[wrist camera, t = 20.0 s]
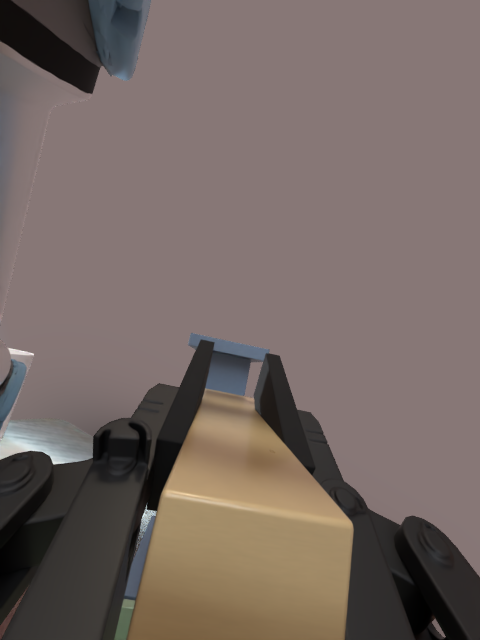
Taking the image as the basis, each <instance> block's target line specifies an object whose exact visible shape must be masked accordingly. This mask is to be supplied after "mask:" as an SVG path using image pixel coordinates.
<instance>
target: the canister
mask: <svg viewBox="0 0 480 640" xmlns="http://www.w3.org/2000/svg"><path fill="white" fill-rule="evenodd" d="M8 350H9V352H10V355H11V359H15V360H16V361H19V362H22V363H24V364H25V365H26V367H27V371H26V375H27V372H28V371H29V368H30V365H31V363H32V360H33V358H34V354H33V353H30V352H26V351H20V350H16V349H11V348H8ZM26 375H25V378H26ZM25 378H24V381H25ZM24 381H23V384H24ZM23 384H22V386H23ZM22 386H21V389H22ZM21 389H20V391H21ZM20 391H19V393H18V396H17V398H16V400H15V402H14V404H13V407H12V409H11V411H10V413H9V414H8V416H7V418H6V420H5V421H4V422H3V425H2V428H1V430H0V441H1V439H2V438H3V436H4V433H5V431H6V428H7V426H8V423H9V420H10V418H11V415H12V412H13V410H14V407H15V405H16V402H17V399H18V397H19V394H20Z"/></svg>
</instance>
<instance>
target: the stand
mask: <svg viewBox="0 0 480 640" xmlns="http://www.w3.org/2000/svg"><path fill="white" fill-rule="evenodd" d="M201 339H202V340H207V341H212V342H215V344H214V349H213V354H212V358H211V363H210V368H209V373H208V378H207V383H206V387H205V388H206V389H211V390H216V391H221V392H226V393H231V394H236V395H241V396H244V394H245V389H246V383H247V379H248V373H249V368H250V363H251V362H263V361H264V358H265V354H266V353H269V350H268V349H263V348H259V347H254V346H249V345H245V344H240V343H235V342H231V341H226V340H221V339H217V338H212V337H207V336H203V335H198V334H193V333H191V335H190V339H189V343H188V345H189V346H191V347H192V348H194V349H195V350H196V349H197V347H198V344H199V342H200V340H201ZM155 517H156V516H152V517H151V520H150V522H149V524H148V527H147V529H146V531H145V534H144V536H143V538H142V541H141V543H140V545H139V548H138V550H137V552H136V555H135V557H134V559H133V562H132V566H131V570H130V574H129V578H128V583H127V587H126V591H125V596H124V599H128V600H136V596H137V592H138V588H139V583H140V579H141V575H142V571H143V567H144V563H145V558H146V554H147V550H148V546H149V542H150V538H151V533H152V529H153V525H154V521H155Z"/></svg>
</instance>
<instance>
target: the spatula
mask: <svg viewBox="0 0 480 640" xmlns="http://www.w3.org/2000/svg"><path fill="white" fill-rule="evenodd" d="M353 532H354V529H353V524H352V522H351V520H350V519H349V518H348V517H347V516H346V515H345V513H344V512H343V511H342V510H341V509H340V508H339V506H338V505H337V504H336V503H335V502H334V501H333V499H332V498H331V497H330V496H329V495H328V494H327V492H326V491H325V490H324V489H323V488H322V487H321V486H320V484H319V483H318V482H317V481H316V480H315V479H314V477H313V476H312V475H311V474H310V473H309V472H308V470H307V469H306V468H305V467H304V466H303V465H302V463H301V462H300V461H299V460H298V459H297V458H296V457H295V455H294V454H293V453H292V452H291V451H290V450H289V448H288V447H287V446H286V445H285V444H284V443H283V441H282V440H281V439H280V438H279V437H278V436H277V434H276V433H275V432H274V431H273V430H272V429H271V427H270V426H269V425H268V424H267V423H266V422H265V421H264V419H263V418H262V417H261V416H260V415H259V414H258V412H257V411H256V410H255V404H254V399H253V398H252V397H246V396H241V395H236V394H231V393H226V392H221V391H216V390H211V389H206V388H205V391H204V395H203V398H202V401H201V403H200V406H199V408H198V411H197V413H196V415H195V418H194V420H193V422H192V425H191V427H190V429H189V431H188V433H187V435H186V438H185V440H184V442H183V444H182V447H181V449H180V451H179V454H178V456H177V458H176V461H175V463H174V465H173V467H172V470H171V472H170V474H169V477H168V479H167V481H166V484H165V486H164V488H163V491H162V493H161V496H160V500H159V504H158V508H157V513H156V517H155V521H154V525H153V529H152V533H151V538H150V542H149V546H148V550H147V554H146V558H145V563H144V567H143V571H142V575H141V579H140V583H139V588H138V592H137V596H136V600H135V604H134V608H133V613H132V617H131V621H130V625H129V629H128V634H127V638H126V640H345V630H346V618H347V605H348V593H349V581H350V569H351V556H352V544H353Z"/></svg>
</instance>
